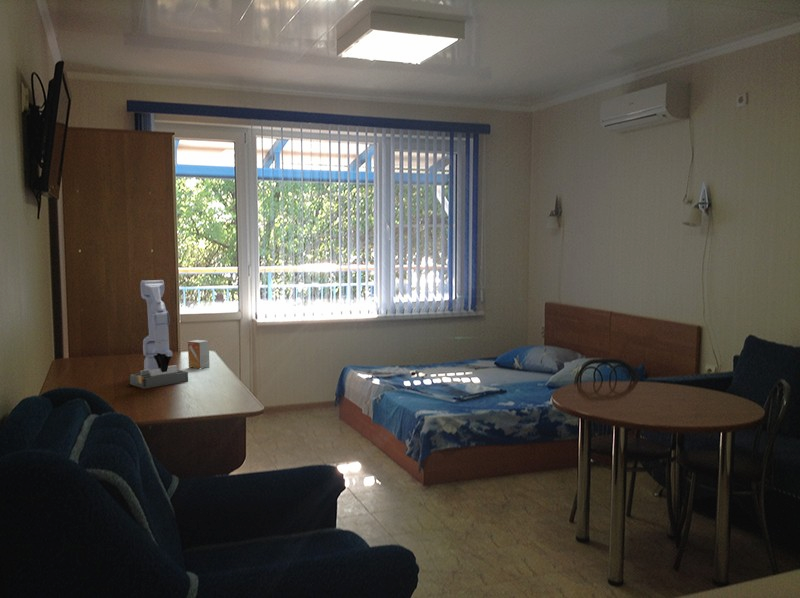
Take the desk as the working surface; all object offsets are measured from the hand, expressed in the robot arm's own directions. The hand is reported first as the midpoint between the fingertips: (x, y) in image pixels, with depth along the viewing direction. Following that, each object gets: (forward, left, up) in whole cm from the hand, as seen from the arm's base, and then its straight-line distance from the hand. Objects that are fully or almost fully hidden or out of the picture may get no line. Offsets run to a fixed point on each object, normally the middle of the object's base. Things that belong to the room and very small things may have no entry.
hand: (163, 371), depth 291 cm
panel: (0, 0, -3) cm, 3 cm away
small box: (-26, +31, -6) cm, 41 cm away
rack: (-4, 0, -6) cm, 7 cm away
